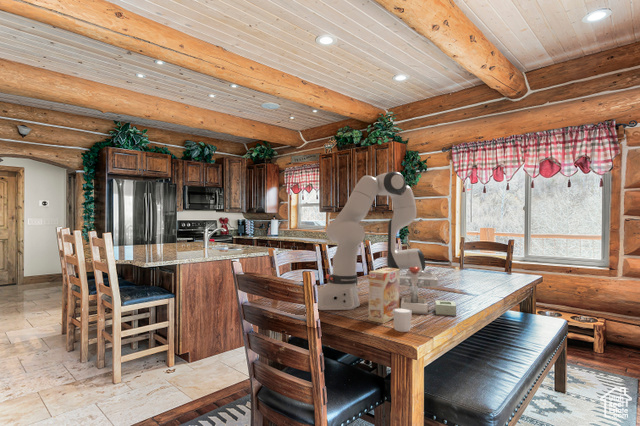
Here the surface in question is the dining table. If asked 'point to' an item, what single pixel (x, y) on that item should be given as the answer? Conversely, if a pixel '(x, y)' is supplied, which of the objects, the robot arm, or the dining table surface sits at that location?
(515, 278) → the dining table surface
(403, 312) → the shot glass
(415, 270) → the pin
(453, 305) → the socket block
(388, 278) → the coffeecake box
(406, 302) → the tray
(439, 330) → the dining table surface
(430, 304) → the dining table surface
